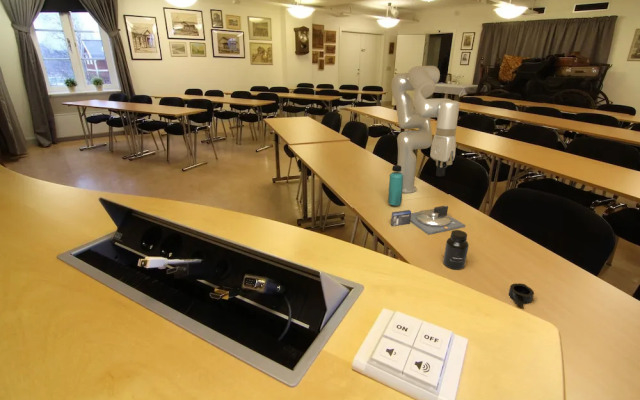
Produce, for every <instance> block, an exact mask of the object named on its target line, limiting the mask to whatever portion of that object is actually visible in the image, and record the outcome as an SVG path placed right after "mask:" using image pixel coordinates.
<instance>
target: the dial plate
mask: <svg viewBox="0 0 640 400" xmlns="http://www.w3.org/2000/svg"><path fill="white" fill-rule="evenodd" d="M430 210H434V208H432V209H430ZM418 212H419V211H416V212H411V219H410V224H412V225H414V226H415V227H417V228H418V229H420V231H422V232H424V233H425V234H427V235H428V236H431V235H436V234H440V233H443V232H444V233H445V232H448V231H453V230H459V229H462V228H463V229H464V228H466V224H465V223H463V222H461V221H460V220H458V219H456V218H454V217H452V216H451V215H449V216H450V217H451V222H450V224H449V225H447V226H443V227H433V226H428V225H424V224H422V223H420V222H419V221H418V220H417V219H416V215H417V213H418Z"/></svg>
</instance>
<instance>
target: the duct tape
mask: <svg viewBox="0 0 640 400" xmlns="http://www.w3.org/2000/svg"><path fill="white" fill-rule="evenodd" d="M534 295H535V293H534V290H533V289H532V288H531V287H530V286H528V285H526V284H525V283H513V284H510V287H509V291H508V297H509V296H510V297H509V298H510V299H511V300H513V302H515V304H516V305H517V306H520V307H522V308H524V305H529V304H531V303H532V301H533V297H534Z"/></svg>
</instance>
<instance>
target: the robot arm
mask: <svg viewBox="0 0 640 400" xmlns="http://www.w3.org/2000/svg"><path fill="white" fill-rule="evenodd" d="M440 73H441V72H440V70H439V68H438V67H437V66H436V65H416V66H413V67H412V68H410V69H409V70H408V72H402V73H397V74H395V75H394V76H393V78H392V79H391V84H390V85H391V93H392V96H393V98H394V101H395V105H396V116H397V123H398V127H399V128H400V129H403V130H405V131H401V132H399V134H398V135H397V137H396V140H397V164H396V165H399V166H401V171H400V173H402V174H403V188H402V194H412V193H415V192H416V191H417V189H418V188H417V186H415V181H416V169H417V156H416V154H415V152H414V150H424V149H428V148H430V155H429V156H430V158H431V159H432V160H433V161H435V166H436V173H435V176H437V177H439V178H440V177H444V176H445V175H446V168H447V167H448V166H451V165H453V161H454V160H455V158H456V157H455V156H456V148H457V147H456V146H457V138H456V132H457V127H458V126H457V125H458V118H459V112H460V101H458V100H453V99H451V98H448V97H447V98H443V97H442V98H429V97H431V96H432V95H433V94H434V92H435V91H436V87H437V86H436V84H437V83H439V80H440V78H441V77H440V76H441V74H440ZM407 91H409V92H410V91H411V92H412V91H413V92H414V94H413V97H411V96H410V94H409V93H408V92H407ZM431 118H437V120H436V127H435V128H436V129H435V134H434V136H433V132H432V122H431ZM413 129H414V130H413ZM415 129H418V130H415Z"/></svg>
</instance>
